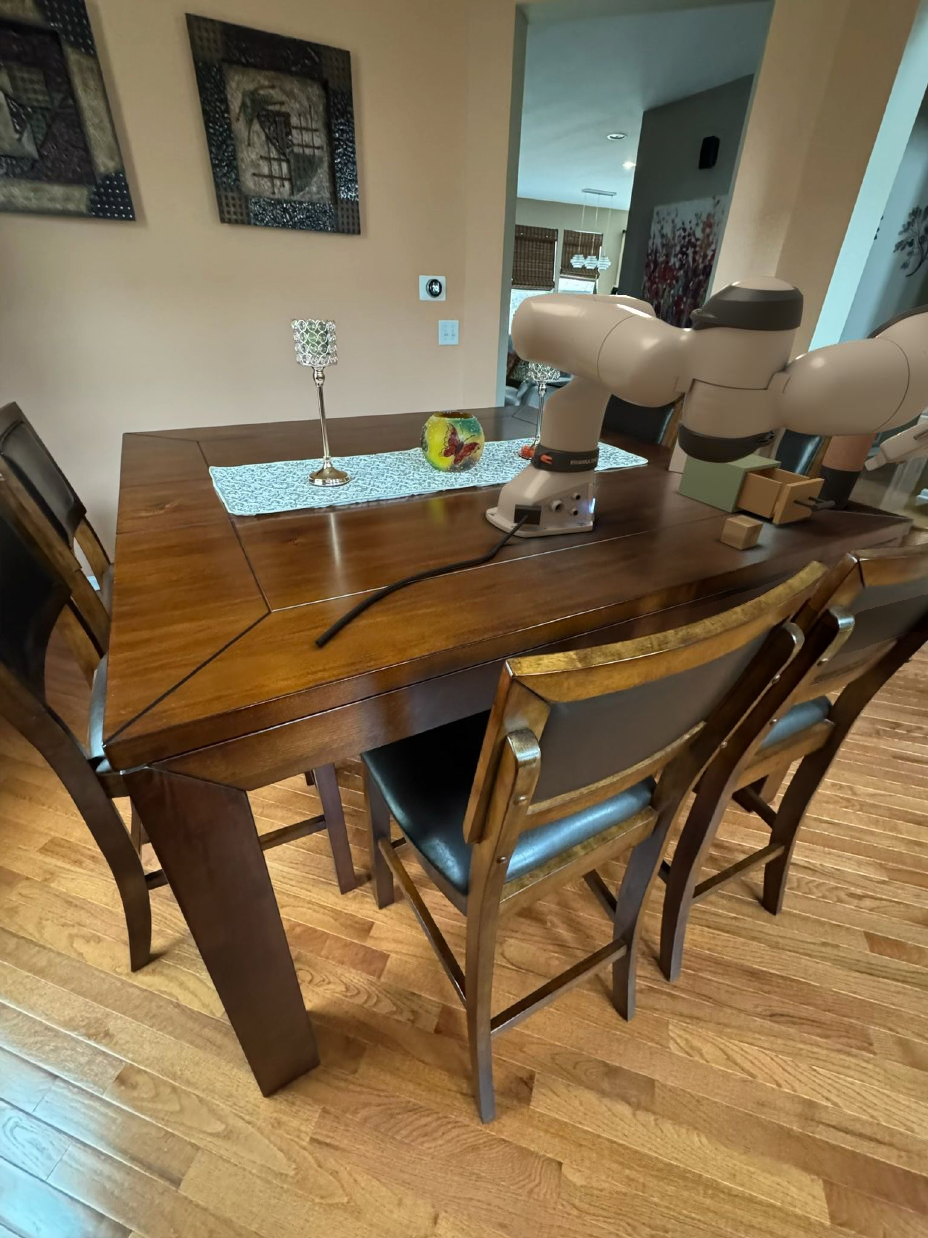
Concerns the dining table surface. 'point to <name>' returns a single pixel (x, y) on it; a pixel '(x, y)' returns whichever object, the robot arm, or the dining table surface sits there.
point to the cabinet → (719, 480)
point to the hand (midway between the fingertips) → (882, 463)
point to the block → (741, 532)
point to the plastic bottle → (771, 446)
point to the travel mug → (843, 467)
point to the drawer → (781, 495)
